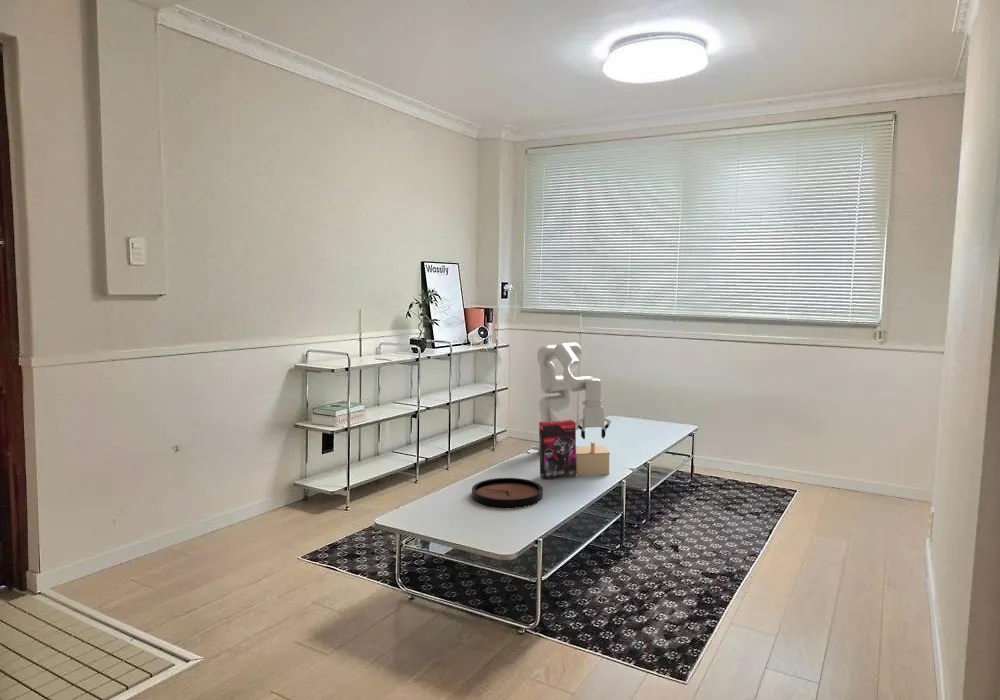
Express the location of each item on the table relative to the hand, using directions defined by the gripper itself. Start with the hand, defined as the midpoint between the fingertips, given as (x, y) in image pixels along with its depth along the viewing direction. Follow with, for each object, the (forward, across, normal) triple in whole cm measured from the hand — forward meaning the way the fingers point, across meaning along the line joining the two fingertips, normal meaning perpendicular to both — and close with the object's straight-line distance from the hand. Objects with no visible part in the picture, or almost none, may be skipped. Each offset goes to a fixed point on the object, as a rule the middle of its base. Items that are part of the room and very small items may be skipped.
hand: (593, 438), depth 331 cm
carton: (+18, 0, +6) cm, 19 cm away
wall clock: (+19, -45, -29) cm, 57 cm away
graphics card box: (+18, -18, -3) cm, 26 cm away
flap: (+8, 0, +6) cm, 10 cm away
